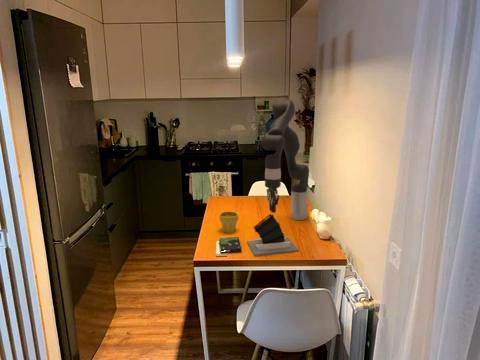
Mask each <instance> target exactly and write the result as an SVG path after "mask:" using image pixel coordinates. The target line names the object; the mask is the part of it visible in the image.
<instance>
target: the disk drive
mask: <svg viewBox="0 0 480 360" xmlns="http://www.w3.org/2000/svg"><path fill="white" fill-rule="evenodd" d="M218 240H219V241H218V242H219V249H221V250H220V254H221V255H222V254H238V253H243V252H242V249H243V248H242V246H241V241H240V237H239V236H230V237H219V239H218ZM224 250H226V251H225V252H221V251H224Z"/></svg>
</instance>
